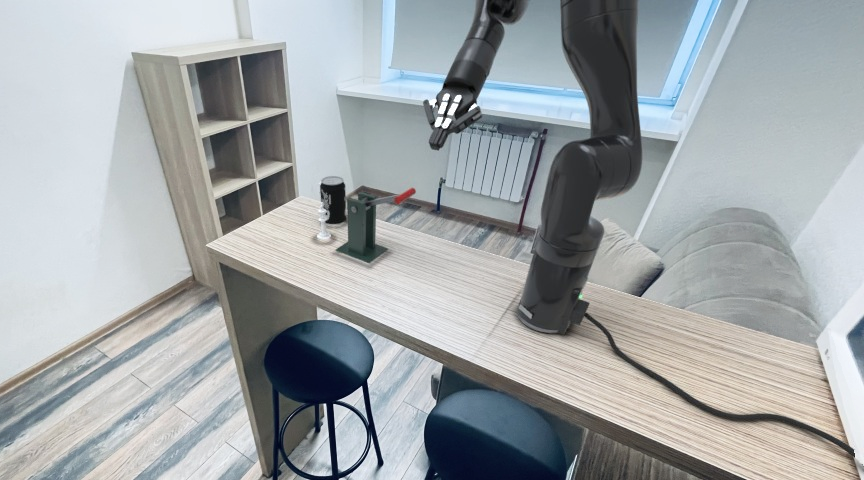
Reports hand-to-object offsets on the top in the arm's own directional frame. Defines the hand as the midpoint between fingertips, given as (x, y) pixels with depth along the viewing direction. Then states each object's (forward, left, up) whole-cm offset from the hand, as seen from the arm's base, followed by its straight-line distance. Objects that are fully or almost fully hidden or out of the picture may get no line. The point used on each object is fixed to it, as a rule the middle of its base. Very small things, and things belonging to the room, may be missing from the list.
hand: (434, 147), depth 81 cm
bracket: (+13, +7, -25) cm, 29 cm away
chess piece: (+25, +7, -26) cm, 36 cm away
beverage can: (+29, -2, -26) cm, 38 cm away
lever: (+7, +7, -12) cm, 15 cm away
